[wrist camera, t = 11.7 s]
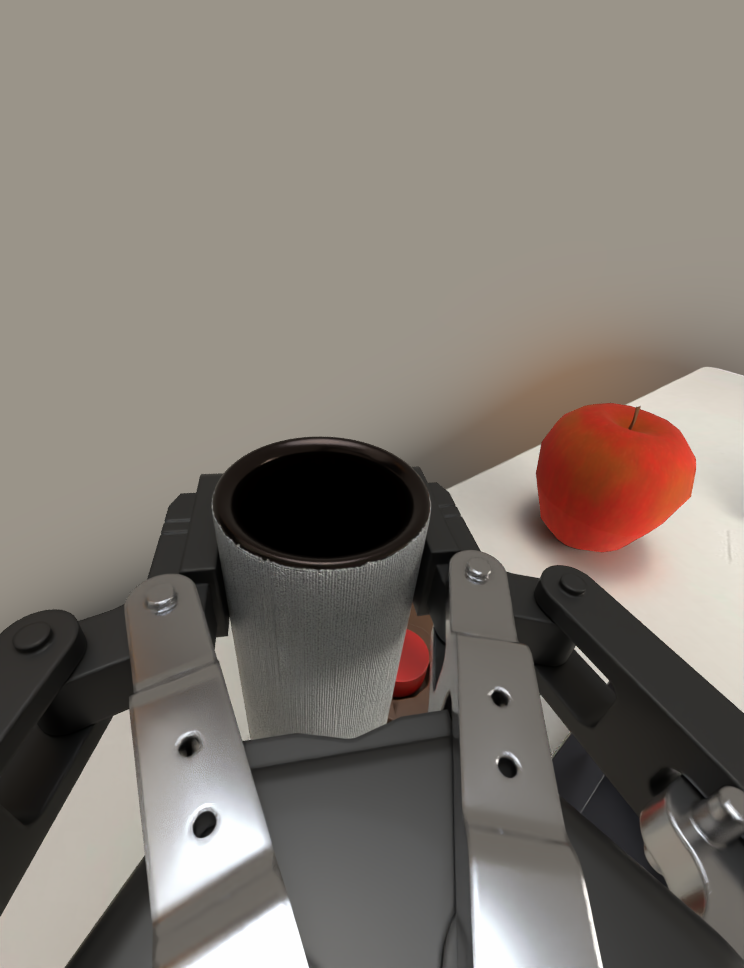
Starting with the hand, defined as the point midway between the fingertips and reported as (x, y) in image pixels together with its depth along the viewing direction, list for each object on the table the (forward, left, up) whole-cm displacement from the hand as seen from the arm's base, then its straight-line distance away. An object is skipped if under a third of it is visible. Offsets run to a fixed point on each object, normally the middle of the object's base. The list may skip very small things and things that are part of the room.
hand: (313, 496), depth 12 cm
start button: (+7, +1, -17) cm, 18 cm away
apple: (+32, +1, -20) cm, 37 cm away
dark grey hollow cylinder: (-1, -2, -8) cm, 9 cm away
